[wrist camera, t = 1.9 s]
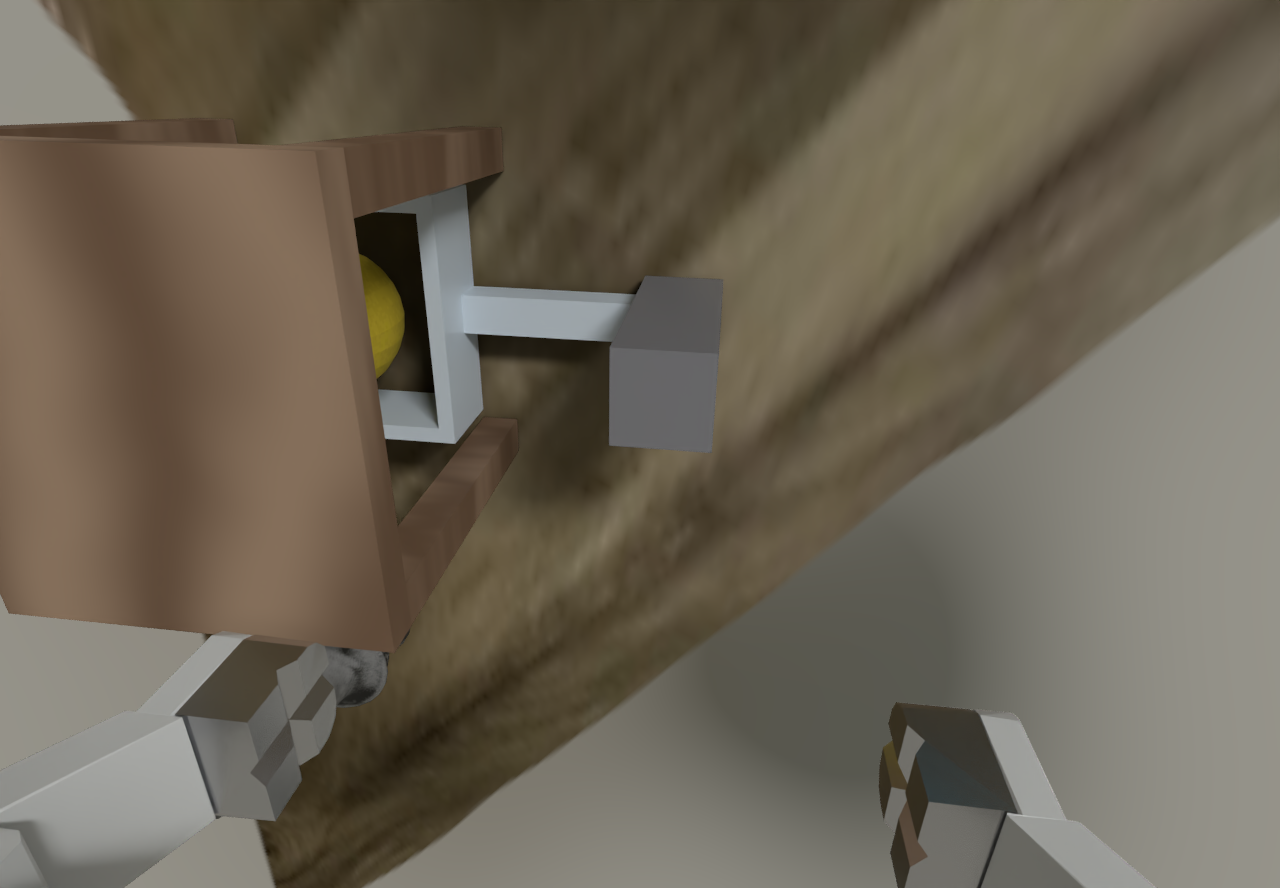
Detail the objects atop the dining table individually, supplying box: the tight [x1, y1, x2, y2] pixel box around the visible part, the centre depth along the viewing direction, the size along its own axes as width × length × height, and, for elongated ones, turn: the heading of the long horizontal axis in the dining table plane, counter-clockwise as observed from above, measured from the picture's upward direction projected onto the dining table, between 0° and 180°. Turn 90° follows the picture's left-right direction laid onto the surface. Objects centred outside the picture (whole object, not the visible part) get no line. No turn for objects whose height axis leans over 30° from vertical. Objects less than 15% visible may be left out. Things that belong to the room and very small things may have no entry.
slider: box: [376, 184, 723, 453], centre depth 25 cm, size 19×9×9 cm, turn 89°
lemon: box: [359, 254, 405, 379], centre depth 27 cm, size 6×6×8 cm
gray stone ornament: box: [215, 629, 410, 819], centre depth 32 cm, size 6×6×12 cm
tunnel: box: [0, 118, 519, 653], centre depth 24 cm, size 12×13×13 cm
